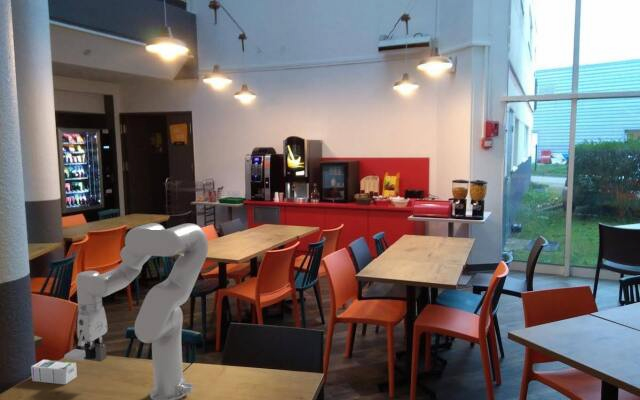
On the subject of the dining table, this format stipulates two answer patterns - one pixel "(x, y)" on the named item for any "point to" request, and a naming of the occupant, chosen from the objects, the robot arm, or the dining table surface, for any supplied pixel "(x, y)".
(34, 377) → the syrup box
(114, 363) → the dining table surface
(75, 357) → the two-tone stacked blocks
